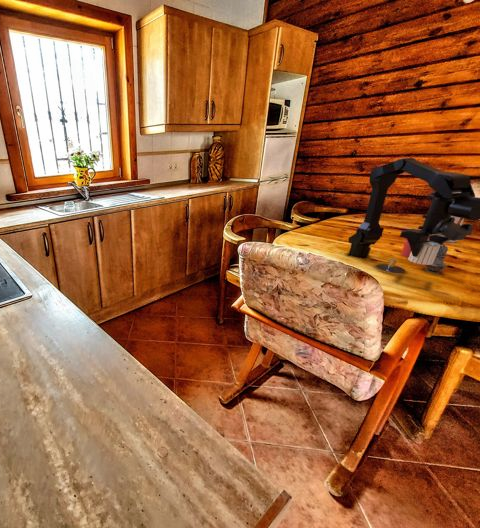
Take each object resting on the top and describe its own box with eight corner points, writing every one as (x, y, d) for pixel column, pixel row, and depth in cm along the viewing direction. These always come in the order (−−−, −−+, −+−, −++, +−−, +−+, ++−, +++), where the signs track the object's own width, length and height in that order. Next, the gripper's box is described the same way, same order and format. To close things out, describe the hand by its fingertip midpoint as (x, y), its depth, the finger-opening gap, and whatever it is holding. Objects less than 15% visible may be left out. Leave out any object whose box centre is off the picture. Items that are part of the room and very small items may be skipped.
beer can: (416, 260, 120) (427, 234, 116) (397, 255, 126) (406, 230, 121) (423, 257, 123) (434, 231, 118) (404, 252, 129) (413, 228, 124)
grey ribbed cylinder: (406, 261, 102) (413, 243, 99) (410, 256, 105) (416, 239, 102) (431, 266, 97) (439, 247, 94) (433, 261, 101) (441, 243, 98)
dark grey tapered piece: (447, 275, 107) (460, 246, 102) (429, 274, 108) (441, 246, 104) (435, 269, 113) (447, 241, 108) (418, 268, 114) (429, 241, 109)
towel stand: (373, 269, 115) (376, 259, 113) (378, 263, 120) (382, 253, 118) (402, 276, 108) (406, 266, 107) (407, 269, 114) (411, 259, 112)
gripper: (445, 221, 85) (426, 267, 92) (494, 216, 88) (472, 261, 94) (406, 213, 95) (391, 255, 102) (451, 208, 98) (434, 249, 104)
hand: (422, 255), depth 100 cm, fingers closed on grey ribbed cylinder, 6 cm apart
